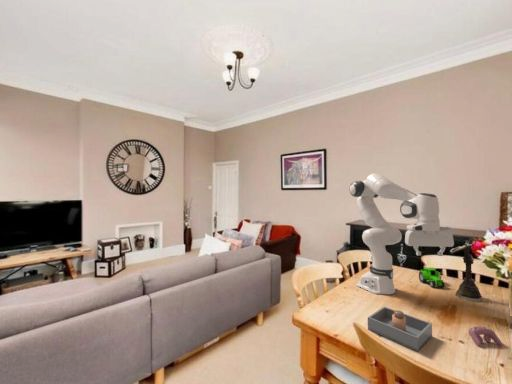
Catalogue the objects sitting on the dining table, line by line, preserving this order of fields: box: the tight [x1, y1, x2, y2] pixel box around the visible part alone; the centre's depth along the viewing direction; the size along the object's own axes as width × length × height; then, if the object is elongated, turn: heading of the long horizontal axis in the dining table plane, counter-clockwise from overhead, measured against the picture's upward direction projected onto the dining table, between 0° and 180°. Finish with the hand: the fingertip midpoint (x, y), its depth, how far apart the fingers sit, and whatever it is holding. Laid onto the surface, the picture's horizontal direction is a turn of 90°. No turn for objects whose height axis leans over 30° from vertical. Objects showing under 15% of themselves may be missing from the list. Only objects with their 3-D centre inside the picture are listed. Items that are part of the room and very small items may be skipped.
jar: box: [392, 309, 406, 332], centre depth 108 cm, size 5×5×8 cm
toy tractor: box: [418, 266, 445, 289], centre depth 162 cm, size 11×16×10 cm
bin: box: [367, 306, 433, 353], centre depth 108 cm, size 20×16×6 cm
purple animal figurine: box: [467, 325, 503, 347], centre depth 101 cm, size 10×5×7 cm, turn 90°
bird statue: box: [449, 237, 483, 303], centre depth 143 cm, size 17×13×35 cm
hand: (429, 255), depth 119 cm, fingers open, 8 cm apart
